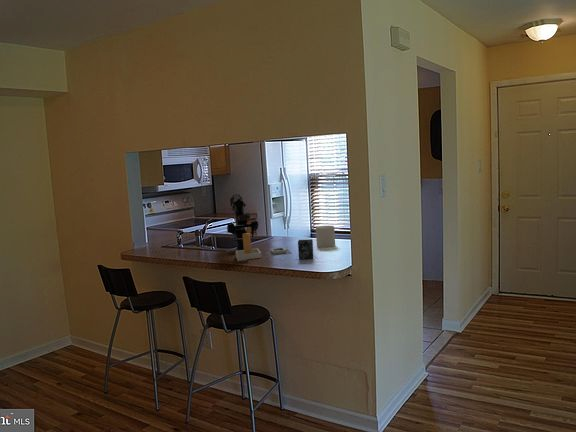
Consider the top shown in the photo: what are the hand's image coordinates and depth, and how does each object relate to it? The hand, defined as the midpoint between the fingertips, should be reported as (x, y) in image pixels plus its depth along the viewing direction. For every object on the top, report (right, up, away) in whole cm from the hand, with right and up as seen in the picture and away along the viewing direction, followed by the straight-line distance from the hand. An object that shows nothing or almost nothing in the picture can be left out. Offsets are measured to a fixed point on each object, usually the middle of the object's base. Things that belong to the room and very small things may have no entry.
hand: (245, 237), depth 304 cm
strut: (+2, -11, -3) cm, 12 cm away
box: (+36, -11, -15) cm, 40 cm away
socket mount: (+20, -10, +2) cm, 22 cm away
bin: (+2, -12, -3) cm, 12 cm away
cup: (+50, -6, +18) cm, 53 cm away
